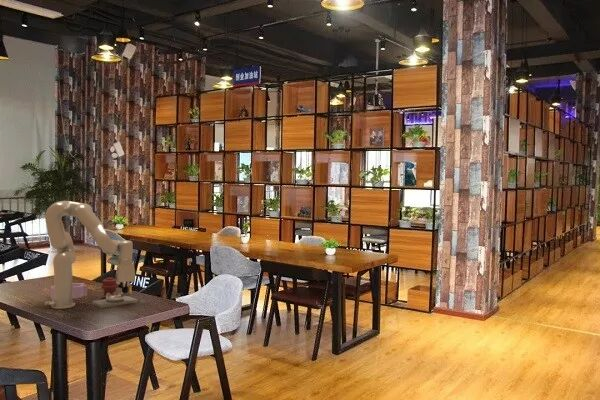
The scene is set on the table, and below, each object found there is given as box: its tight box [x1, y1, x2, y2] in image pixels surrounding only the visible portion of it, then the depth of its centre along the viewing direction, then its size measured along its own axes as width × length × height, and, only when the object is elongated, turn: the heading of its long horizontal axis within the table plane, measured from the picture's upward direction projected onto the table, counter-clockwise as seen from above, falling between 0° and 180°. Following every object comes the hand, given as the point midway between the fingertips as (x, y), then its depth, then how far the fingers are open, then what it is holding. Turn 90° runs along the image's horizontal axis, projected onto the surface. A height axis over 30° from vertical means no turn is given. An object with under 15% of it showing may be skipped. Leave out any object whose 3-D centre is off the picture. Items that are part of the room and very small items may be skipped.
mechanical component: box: [100, 277, 120, 298], centre depth 327 cm, size 12×10×10 cm
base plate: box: [91, 296, 138, 309], centre depth 315 cm, size 22×13×2 cm, turn 133°
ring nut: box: [105, 284, 133, 302], centre depth 315 cm, size 11×14×9 cm
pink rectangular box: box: [49, 282, 88, 300], centre depth 329 cm, size 20×12×7 cm, turn 126°
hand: (124, 293), depth 310 cm, fingers closed
